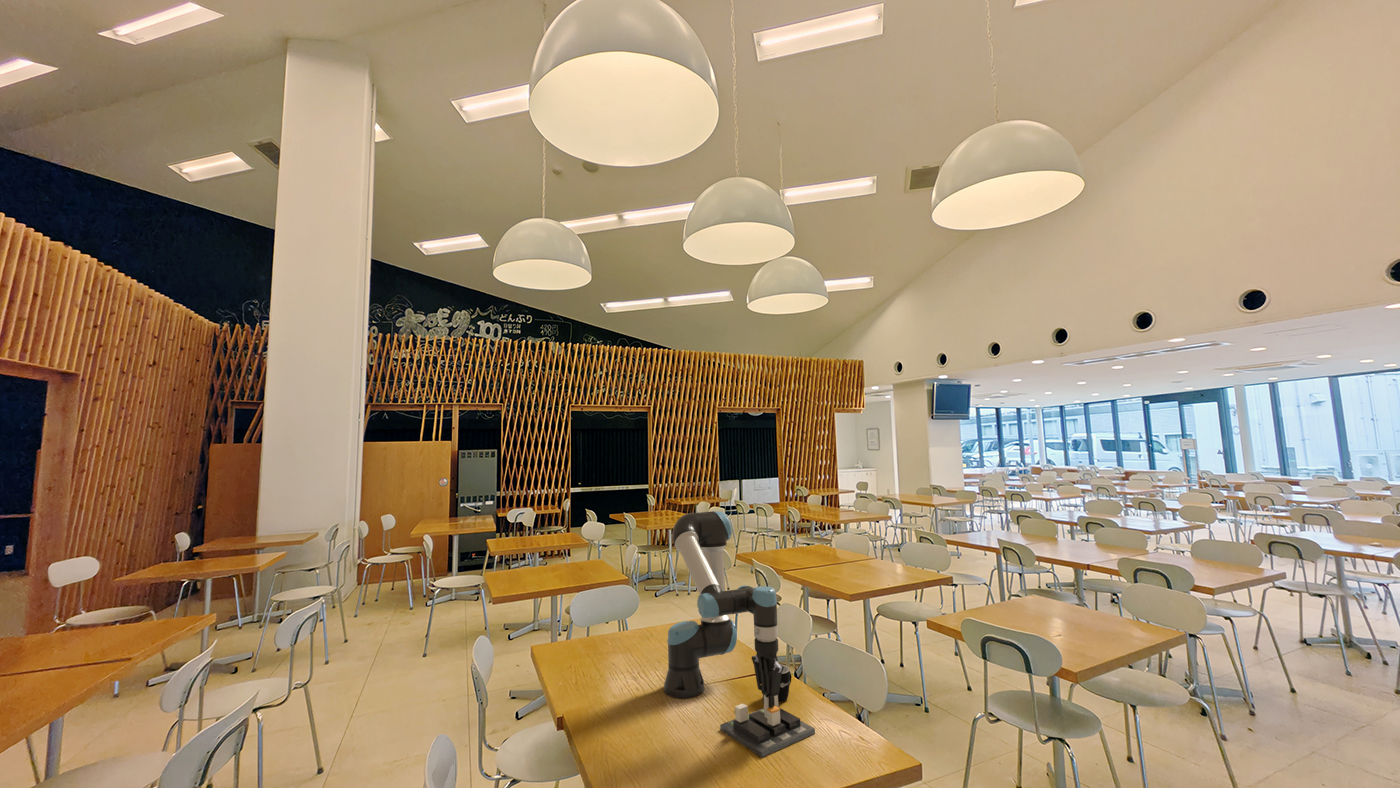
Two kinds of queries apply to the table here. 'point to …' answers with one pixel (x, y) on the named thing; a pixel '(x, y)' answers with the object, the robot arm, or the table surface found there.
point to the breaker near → (741, 712)
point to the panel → (770, 749)
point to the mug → (784, 684)
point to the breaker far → (776, 700)
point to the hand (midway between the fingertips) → (769, 716)
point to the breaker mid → (773, 715)
